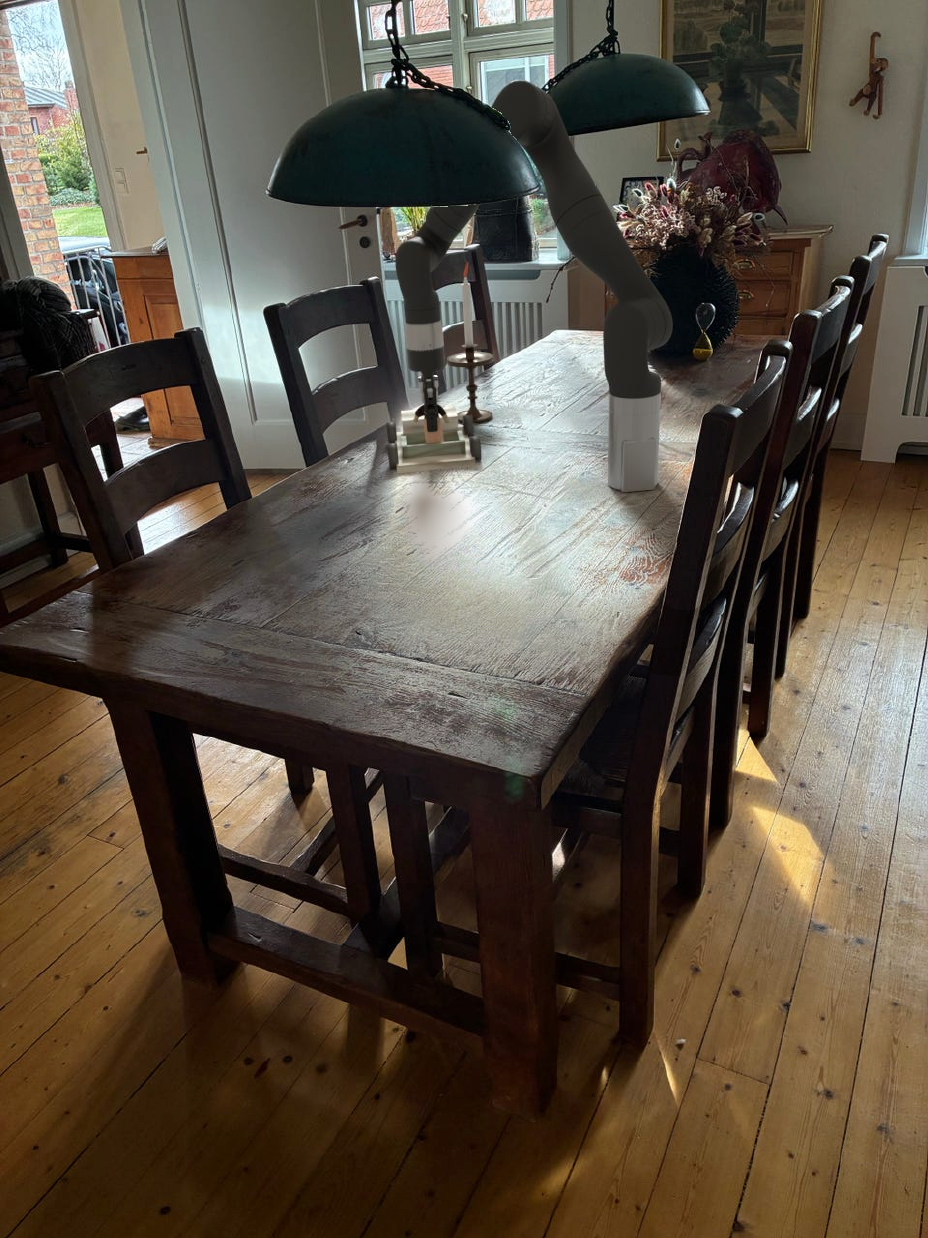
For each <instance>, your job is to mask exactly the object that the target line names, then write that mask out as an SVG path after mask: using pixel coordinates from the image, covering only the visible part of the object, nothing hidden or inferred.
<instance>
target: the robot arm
mask: <svg viewBox="0 0 928 1238" xmlns="http://www.w3.org/2000/svg"><path fill="white" fill-rule="evenodd" d="M491 107H492V108H494V109H496V110H497V111H499V112H501V113H502V115H503V116H504V117H505V118H506V119H507V120H508V121H509V123H510V126H511V129H510V132H511V134H512V136H514V137H515V138H516V139H517V141H518V142H519V143H518V145H520V146H521V147H522V148H523V150H524V151H525V153H526V154H527V155H528V157H529V158H530V159H531V161H532V164H534V166H535V168H536V169H537V171H538V173H539V175H540V177H541V179H542V183H543V185H544V186H543V187H544V190H545V195H546V199H547V204H548V205H547V206H548V208H549V209H548V210H549V212H550V216H551V218H552V220H553V222H554V223H553V224H554V225H555V227H556V229H557V231H558V233H559V234H560V236H561V238H562V240H563V241H564V243H565V246H566V247H567V248H568V250H569V251H570V253H571V254H572V255H573V256H574V257H575V258H576V259H577V260H578V261H579V262H580V263H581V264H583V265H584V266H585V267H586V268H587V269H588V270H589V271H591V272H593V273H594V274H595V275H596V277H598V278H599V279H600V280H602V281H603V283H604V284H605V285H606V286H607V287H608V288H609V290H610V291H611V293H612V294H613V296H614V298H615V300H616V301H617V303H615V304H614V305H612V307H611V308H609V310H608V311H607V313H606V315H605V318H604V323H603V329H602V331H603V333H602V335H603V336H602V341H603V343H602V345H603V364H604V366H603V369H604V374H605V379H606V381H607V383H608V431H607V432H608V433H607V434H608V438H607V439H608V440H607V445H608V446H607V484H608V486H609V487H611V488H612V489H615V490H618V491H621V492H622V493H631V492H641V491H651V490H652V491H653V490H655V489H656V486H657V485H658V481H659V479H658V478H659V453H660V451H659V450H660V430H661V429H660V425H661V402H662V401H661V399H662V397H661V396H662V378H661V376H660V374H659V373H657V372H654V371H651V370H650V367H649V356H648V355H649V353H648V352H649V351H654V350H655V349H659V348H661V347H662V346H664V345H665V344H667V343H668V341H670V338H671V337H672V334H673V326H674V324H673V323H674V321H673V317H672V313H671V311H670V308H669V306H668V305H667V302H666V301H665V299H664V298H663V296H662V295H661V293H660V292H659V290H658V289H657V287H656V286H655V284H654V283H653V282H652V280H651V279H650V277H649V276H648V275H647V273H646V272H645V270H644V268H643V267H642V266H641V264H640V262H639V261H638V259H637V257H636V256H635V254H634V252H633V250H632V247H630V244H629V243H628V241H627V239H626V237H625V236H624V233H622V231H621V229H620V227H619V225H618V223H617V221H616V219H615V217H614V215H613V213H612V211H611V209H610V207H609V205H608V204H607V202H606V200H605V198H604V196H603V195H602V193H601V191H600V189H599V188H598V186H597V184H596V183H595V181H594V179H593V178H592V176H591V174H590V173H589V170H588V169H587V168H586V166H585V165H584V163H583V162H582V160H581V159H580V156H578V153H577V152H576V150H575V147H574V146H573V143H572V142H571V141H572V140H571V139H570V137H569V134H568V132H567V130H566V127H565V125H564V124H565V123H564V122H563V119H562V116H561V114H560V111H559V109H558V108H557V105H556V103H555V101H554V100H553V98H552V97H551V95H550V94H549V93H548V92H547V91H545V90H544V89H542V88H540V87H538V86H537V85H535V84H533V82H530V81H528V80H525V79H515V80H512V81H510V82H509V83H507V84H505V86H504V87H502V88H501V90H500V91H499V92H498V94H497V95H496V97H495V99H494V100H493V102H492V104H491V106H490V108H491ZM480 205H481V203H480V204H476V205H468V206H448V207H431V206H430V207H429V209H428V211H427V213H426V215H425V221H424V222H423V224H422V225H421V226H420V228H419V230H418V231H417V232H416V233H415V235H414V236H413V237H411V238H410V239H406V240H404V241H403V242H402V243H401V244H400V245H399V246H398V247H397V250H396V253H395V260H394V261H395V262H394V265H395V273H396V277H397V281H398V284H399V285H398V286H399V289H400V292H401V295H402V298H403V311H404V319H405V331H404V332H405V342H406V343H405V345H406V356H407V367H408V369H409V371H411V372H414V373H420V376H419V377H417V381H418V388H419V391H420V392H419V393H420V400H421V402H422V403H423V404H422V405H425V410H424V412H425V415H426V422H427V431H428V432H436V431H438V425H437V412H438V408H437V404H438V402H439V392H438V391H439V390H438V388H439V378H438V375H434V373H435V371H440V370H443V369H444V368H445V367H446V356H445V341H444V330H443V326H442V321H441V318H442V317H441V309H440V308H441V307H440V306H441V305H440V298H439V294H438V292H437V291H436V290H434V287H433V281H432V280H433V279H432V272H433V271H434V270H436V268H437V267H438V266H439V264H440V263H441V262H442V261H443V259H444V258H445V256H446V254H447V252H448V251H449V249H450V247H451V246H452V244H453V242H454V240H455V239H456V238H457V237H458V236H459V234H460V233H461V232H462V231H463V229H464V228H465V227H466V226H467V225H468V224H469V221H470V220H471V219H472V217H473V216H474V215H475V214H476V212H477V210H478V209H479V207H480ZM429 404H434V407H428V408H427V405H429Z"/></svg>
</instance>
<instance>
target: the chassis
mask: <svg viewBox="0 0 928 1238" xmlns="http://www.w3.org/2000/svg"><path fill="white" fill-rule="evenodd" d="M442 408H443V409H444V410H445V412H446V414H447V416H448V419H449V423H445V421H444V419H443V417H442V416H441V415H440V414H439V417H440V420H441V425H442V432H443V439H444V442H437V443H426V438H425V432H424V417H425V416H421V417H419V419H418V422H416V423H415V422H414V421H413V419H414V418H415V417H414V416H415V412H416V410H417V409H411V410H410V409H409V410H401V411H400V413H401V423H402V431H397V424H396V421H386V435H387V444H386V445H387V457H388V459H387V460H388V466H389V469H396V472H397V474H404V473H405V474H406V473H417V472H428V471H429V472H430V471H438V470H449V469H460V468H461V469H463V468H473V467H476V462H477V461H482V444H481V438H480V435H475V427H474V425H475V424H473V417H472V415H466V416H463V424H462V426H459V423H458V415H457V413H458V411H457V409H456V406H446V407H445V406H444V407H442Z"/></svg>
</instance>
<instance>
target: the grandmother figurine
mask: <svg viewBox="0 0 928 1238" xmlns="http://www.w3.org/2000/svg"><path fill="white" fill-rule="evenodd" d="M428 407H434V404H429V405H427V408H428ZM437 408H438V412H437V425H438V431H436V432H428V431H427V422H426V415H425V412H424V410H425V405H423V404H422V405H420V406H419V407H417V409H415V410H416V412H415V416H414V417H415V418H414V419H413V421H414V422H415V423H416V422H418V419H419V417H421V416H425V417H424V432H425V438H426V443H437V442H444V439H443V432H442V425H441V420H440V417H439V414H440V415H441V416H442V417H443V419H444V421H445V423H449V419H448V416H447V414H446V412H445V410H444V409H443V407H442V406H441V405H440V404H438V403H437Z"/></svg>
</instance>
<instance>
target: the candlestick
mask: <svg viewBox="0 0 928 1238" xmlns="http://www.w3.org/2000/svg"><path fill="white" fill-rule="evenodd" d="M468 271H469V262H468V261H467V262H466V264H465V267H464V271H463V283H461V296H462V298H461V299H462V314H463V328H464V330H463V331H464V344H462V345H460V347H461V348H464V350H465V351H464V352H460V353H455V354H451V355H449V356H447V358H446V365H448V366H449V367H454V368H464V369H467V372H468V373H467V378H468V384H467V385H466V386H465V390H466V391H467V392H468V396H467V397H466V399H467V400H469V407H468V410H464V411H460V412H457V415H458V424H462V425H463V416H466V415H472V417H473V425H478V424H484V423H488V422H490V421H491V420H493V418H494V416H493V415H494V414H493V412H491V411H489V410H484V409H478V407H477V403H476V400H477V399H478V397H479V396H478V395H476V394H477V393H476V391H477V390H478V388H479V386H478V385H477V384H476V383H475V370H474V369H476V368H477V367H482V366H487V365H490V364H492V363H493V362H494V359H495V356H494V354H492V353H489V352H482V351H475V347H476V348H477V347H478V346H479V345H478V344H477V343H474V333H473V332H474V331H473V330H474V329H473V319H472V318H473V317H472V316H473V315H472V314H473V313H472V301H471V300H472V298H471V297H472V296H471V283H469V281H468V277H467V275H468Z"/></svg>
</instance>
